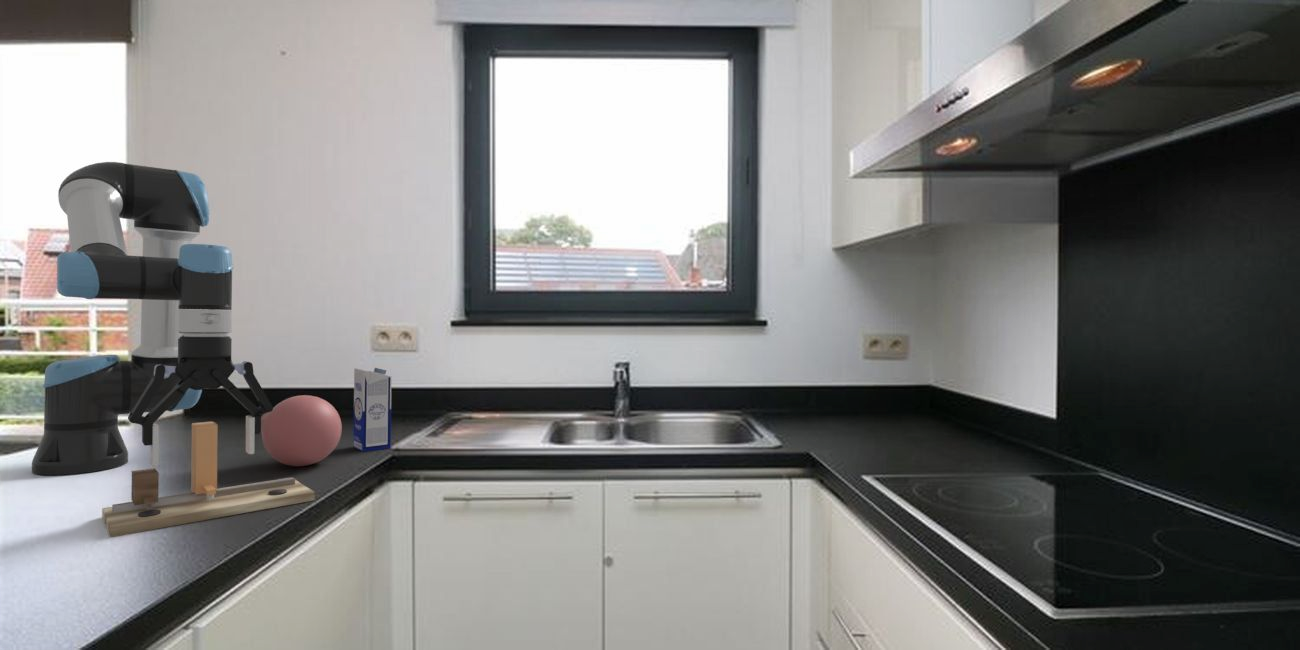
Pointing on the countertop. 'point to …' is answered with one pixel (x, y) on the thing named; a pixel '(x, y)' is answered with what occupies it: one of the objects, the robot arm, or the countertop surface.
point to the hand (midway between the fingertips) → (204, 458)
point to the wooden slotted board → (195, 503)
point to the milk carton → (372, 410)
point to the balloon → (301, 430)
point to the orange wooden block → (204, 458)
